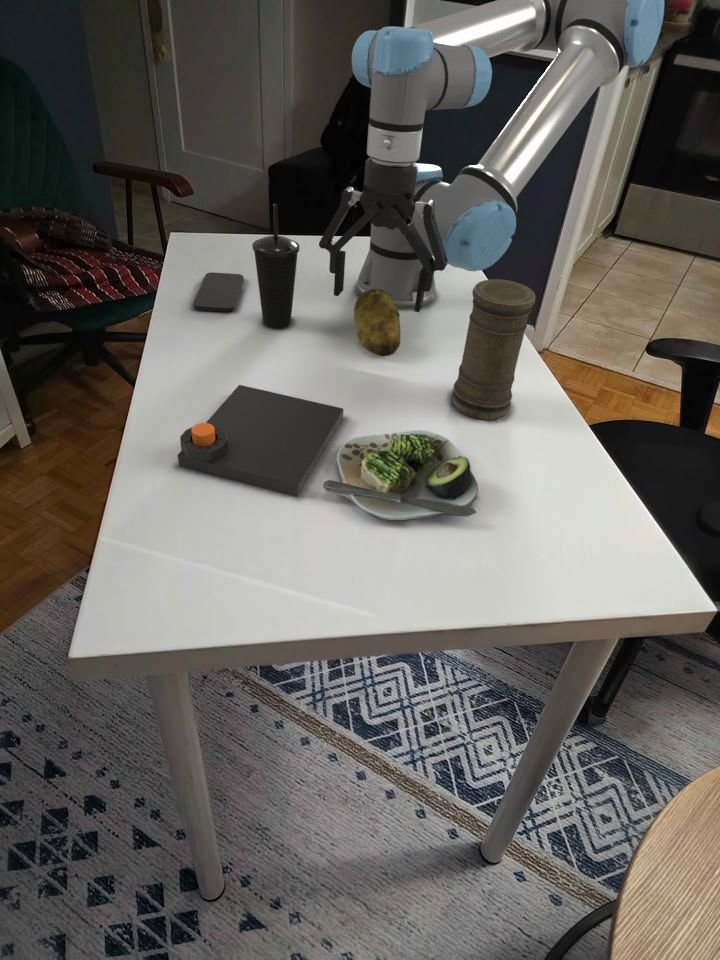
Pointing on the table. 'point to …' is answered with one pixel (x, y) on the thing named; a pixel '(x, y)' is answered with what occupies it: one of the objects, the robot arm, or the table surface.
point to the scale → (264, 440)
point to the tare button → (203, 434)
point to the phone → (219, 292)
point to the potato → (377, 322)
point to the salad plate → (405, 476)
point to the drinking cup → (276, 276)
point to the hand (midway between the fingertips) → (377, 301)
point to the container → (492, 348)
